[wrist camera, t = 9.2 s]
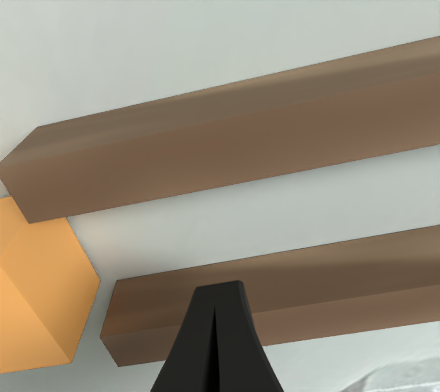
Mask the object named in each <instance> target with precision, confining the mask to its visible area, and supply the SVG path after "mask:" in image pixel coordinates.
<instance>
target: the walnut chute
mask: <svg viewBox="0 0 440 392" xmlns="http://www.w3.org/2000/svg"><path fill="white" fill-rule="evenodd" d="M438 144H440V36H437V37H433V38H429V39H424V40H420V41H415V42H411V43H406V44H402V45H398V46H393V47H389V48H384V49H380V50H376V51H371V52H367V53H362V54H358V55H353V56H349V57H345V58H340V59H336V60H331V61H327V62H322V63H318V64H314V65H309V66H305V67H300V68H296V69H291V70H287V71H283V72H278V73H274V74H269V75H265V76H261V77H256V78H252V79H247V80H243V81H238V82H234V83H230V84H225V85H221V86H216V87H212V88H207V89H203V90H199V91H194V92H190V93H185V94H181V95H176V96H172V97H168V98H163V99H159V100H154V101H150V102H145V103H141V104H137V105H132V106H128V107H123V108H119V109H115V110H110V111H106V112H101V113H97V114H92V115H88V116H84V117H79V118H75V119H70V120H66V121H61V122H57V123H53V124H48V125H44V126H39V127H37V128H36V129H35V130H34V131H33V132H31V133H30V134H29V135H28V136H27V137H26V138H25V139H24V140H23V141H22V142H21V143H20V144H19V145H18V146H17V147H16V148H15V149H14V150H13V151H12V152H11V153H10V154H9V155H8V156H7V157H5V158H4V159H3V160H2V161H1V162H0V179H1V180H2V182H3V183H4V185H5V187H6V188H7V190H8V191H9V193H10V195H11V196H12V198H13V199H14V201H15V203H16V204H17V206H18V207H19V209H20V211H21V212H22V214H23V215H24V217H25V219H26V220H27V222H28V223H29V224H32V223H38V222H43V221H48V220H53V219H58V218H63V217H68V216H74V215H79V214H84V213H89V212H94V211H99V210H104V209H109V208H115V207H120V206H125V205H130V204H135V203H140V202H145V201H151V200H156V199H161V198H166V197H171V196H176V195H181V194H186V193H192V192H197V191H202V190H207V189H212V188H217V187H222V186H227V185H233V184H238V183H243V182H248V181H253V180H258V179H263V178H269V177H274V176H279V175H284V174H289V173H294V172H299V171H304V170H310V169H315V168H320V167H325V166H330V165H335V164H340V163H346V162H351V161H356V160H361V159H366V158H371V157H376V156H381V155H387V154H392V153H397V152H402V151H407V150H412V149H417V148H422V147H428V146H433V145H438ZM235 280H240V281H242V282H243V283H244V287H245V291H246V295H247V298H248V302H249V306H250V310H251V314H252V317H253V321H254V326H255V331H256V333H257V336H258V338H259V341H260V343H261V345H262V346H268V345H274V344H281V343H288V342H295V341H302V340H309V339H316V338H323V337H330V336H337V335H344V334H351V333H358V332H365V331H372V330H379V329H386V328H393V327H399V326H406V325H413V324H420V323H427V322H434V321H440V225H437V226H431V227H426V228H420V229H414V230H408V231H402V232H396V233H391V234H385V235H379V236H373V237H367V238H361V239H356V240H350V241H344V242H338V243H332V244H327V245H321V246H315V247H309V248H303V249H297V250H292V251H286V252H280V253H274V254H268V255H262V256H257V257H251V258H245V259H239V260H233V261H227V262H222V263H216V264H210V265H204V266H198V267H192V268H187V269H181V270H175V271H169V272H163V273H157V274H152V275H146V276H140V277H134V278H128V279H122V280H117V282H116V285H115V288H114V292H113V295H112V298H111V301H110V305H109V308H108V311H107V315H106V318H105V321H104V324H103V328H102V331H101V334H100V339H101V340H102V342H103V343H104V345H105V347H106V348H107V350H108V351H109V353H110V355H111V356H112V358H113V359H114V361H115V363H116V364H117V366H118V367H122V366H129V365H136V364H143V363H149V362H156V361H163V360H166V359H167V357H168V355H169V352H170V350H171V348H172V346H173V343H174V341H175V339H176V337H177V334H178V332H179V330H180V327H181V325H182V322H183V320H184V317H185V315H186V312H187V309H188V306H189V304H190V301H191V298H192V295H193V292H194V290H195V288H196V287H198V286H205V285H211V284H217V283H223V282H229V281H235Z"/></svg>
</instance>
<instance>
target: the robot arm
mask: <svg viewBox="0 0 440 392" xmlns="http://www.w3.org/2000/svg"><path fill="white" fill-rule="evenodd" d="M150 392H284V391H283V389H282V387H281V385H280V383H279V381H278V379H277V377H276V375H275V373H274V371H273V369H272V367H271V365H270V363H269V361H268V359H267V357H266V354H265V352H264V350H263V348H262V345H261V343H260V341H259V338H258V336H257V333H256V331H255V326H254V321H253V317H252V314H251V310H250V306H249V302H248V298H247V295H246V291H245V287H244V283H243V282H242V281H240V280H235V281H229V282H223V283H217V284H211V285H205V286H198V287H196V288H195V290H194V292H193V295H192V298H191V301H190V304H189V306H188V309H187V312H186V315H185V317H184V320H183V322H182V325H181V327H180V330H179V332H178V334H177V337H176V339H175V341H174V343H173V346H172V348H171V350H170V352H169V355H168V357H167V359H166V361H165V363H164V365H163V367H162V369H161V371H160V373H159V375H158V377H157V379H156V381H155V383H154V385H153V387H152V389H151V391H150Z"/></svg>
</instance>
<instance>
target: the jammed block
mask: <svg viewBox="0 0 440 392" xmlns="http://www.w3.org/2000/svg"><path fill="white" fill-rule="evenodd" d="M100 282H101V281H100V279H99V277H98V275H97V274H96V272H95V270H94V268H93V266H92V265H91V263H90V261H89V259H88V257H87V256H86V254H85V252H84V250H83V248H82V246H81V245H80V243H79V241H78V239H77V237H76V236H75V234H74V232H73V230H72V228H71V227H70V225H69V223H68V221H67V219H66V218H65V217H63V218H58V219H53V220H48V221H43V222H38V223H32V224H29V223H28V222H27V220H26V219H25V217H24V215H23V214H22V212H21V211H20V209H19V207H18V206H17V204H16V203H15V201H14V199H13V198H12V196H10V197H5V198H0V374H1V373H8V372H14V371H21V370H28V369H35V368H42V367H48V366H55V365H62V364H69V363H72V361H73V358H74V355H75V352H76V349H77V346H78V344H79V341H80V338H81V335H82V332H83V330H84V327H85V324H86V321H87V318H88V316H89V313H90V310H91V307H92V304H93V301H94V299H95V296H96V293H97V290H98V287H99V285H100Z"/></svg>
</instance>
